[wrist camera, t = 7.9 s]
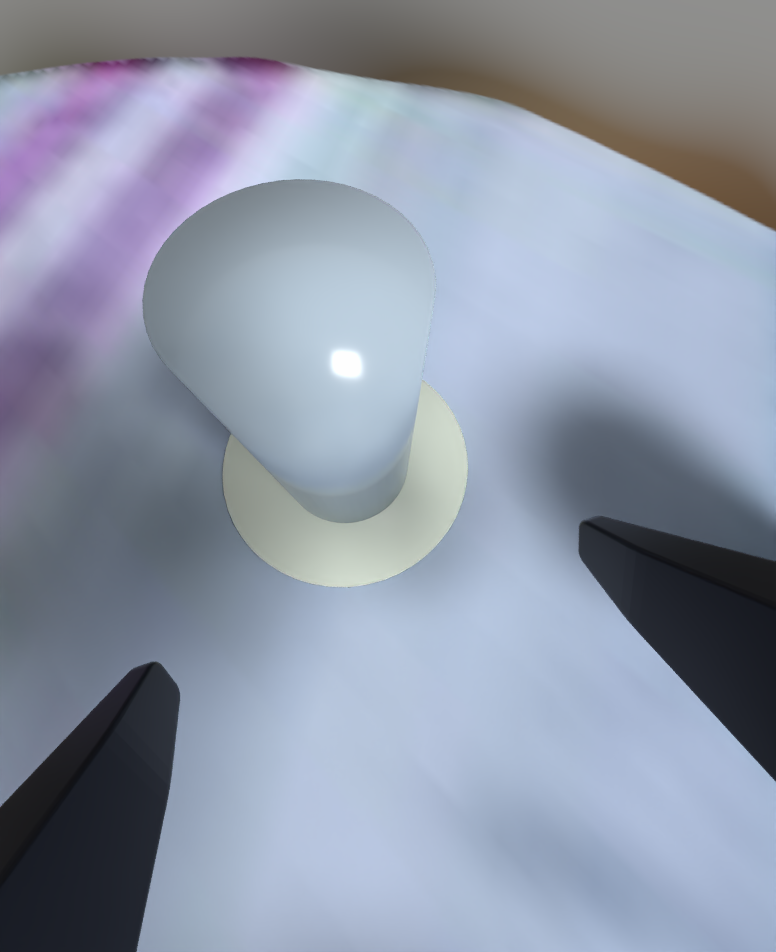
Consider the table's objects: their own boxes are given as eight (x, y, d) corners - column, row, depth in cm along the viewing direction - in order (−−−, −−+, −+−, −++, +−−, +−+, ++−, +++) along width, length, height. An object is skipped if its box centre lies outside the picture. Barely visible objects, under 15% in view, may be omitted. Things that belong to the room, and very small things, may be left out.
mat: (481, 581, 15) (481, 581, 15) (211, 593, 15) (209, 593, 15) (454, 354, 18) (455, 352, 18) (235, 362, 18) (233, 360, 18)
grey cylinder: (411, 520, 16) (449, 404, 6) (282, 525, 16) (117, 416, 6) (404, 405, 17) (424, 175, 8) (288, 410, 17) (165, 182, 8)
